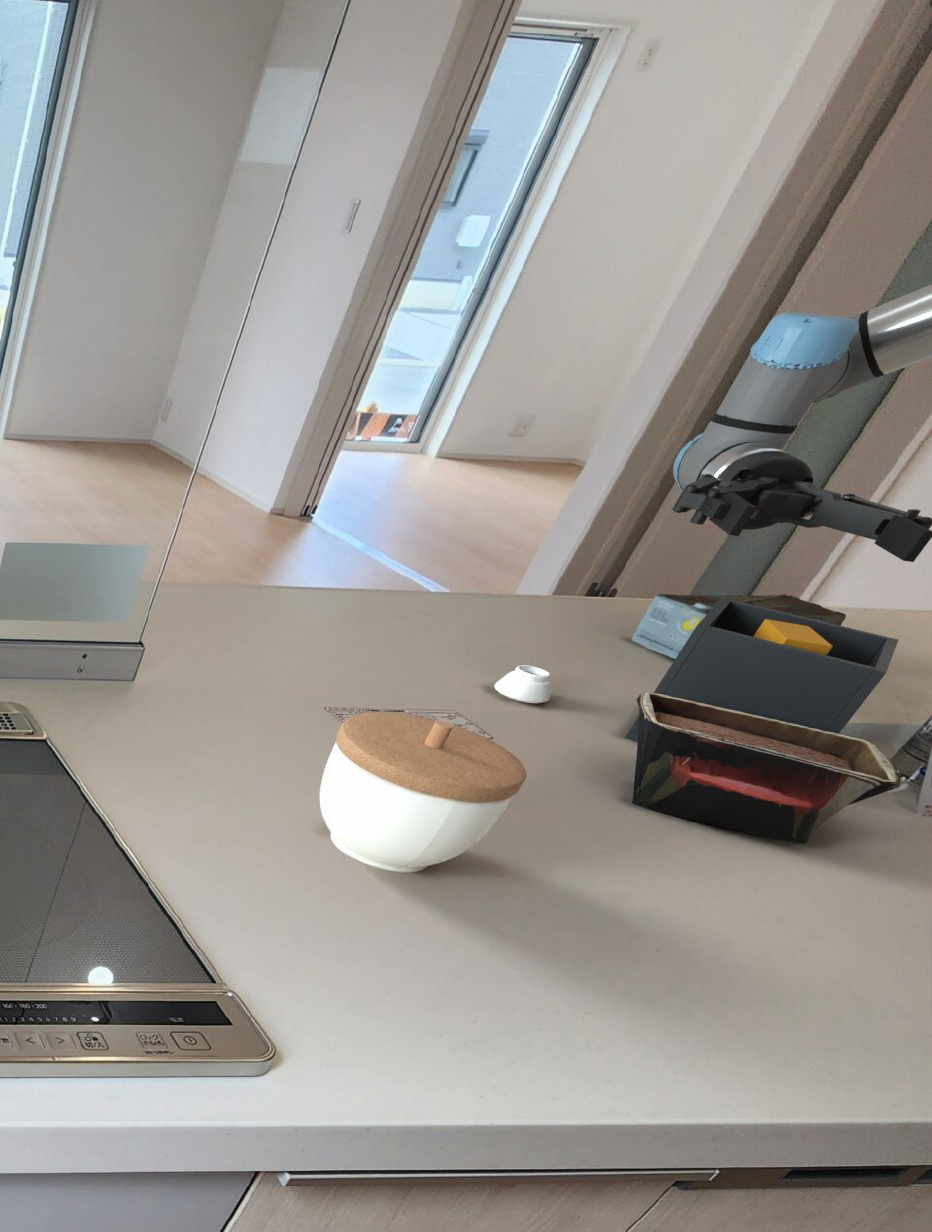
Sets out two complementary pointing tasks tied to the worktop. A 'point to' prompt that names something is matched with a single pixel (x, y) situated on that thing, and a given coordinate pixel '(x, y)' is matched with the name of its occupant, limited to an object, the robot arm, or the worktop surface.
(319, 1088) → the worktop surface
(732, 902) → the worktop surface
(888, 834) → the worktop surface
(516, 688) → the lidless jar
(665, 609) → the beverage carton
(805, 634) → the block
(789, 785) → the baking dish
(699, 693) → the bin
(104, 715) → the worktop surface
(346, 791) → the lidded bowl
